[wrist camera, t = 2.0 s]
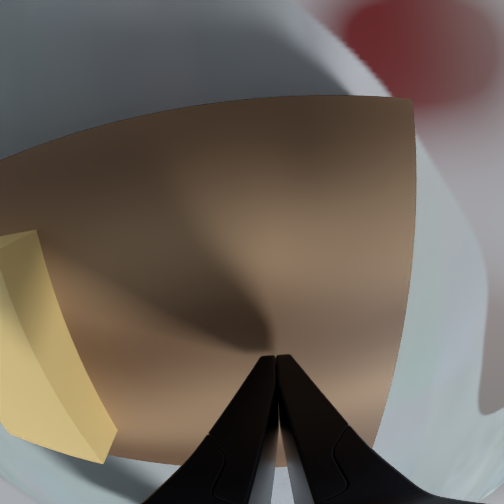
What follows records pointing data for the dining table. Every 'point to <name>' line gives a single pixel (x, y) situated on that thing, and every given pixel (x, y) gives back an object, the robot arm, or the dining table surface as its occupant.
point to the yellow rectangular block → (44, 361)
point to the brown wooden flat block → (226, 255)
